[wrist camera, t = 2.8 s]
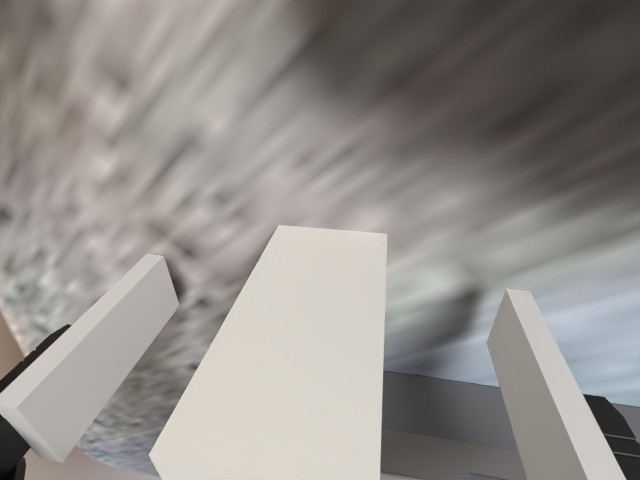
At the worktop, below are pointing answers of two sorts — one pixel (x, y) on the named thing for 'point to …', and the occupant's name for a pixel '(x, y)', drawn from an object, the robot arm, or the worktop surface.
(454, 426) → the power strip
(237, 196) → the worktop surface
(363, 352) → the block
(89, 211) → the worktop surface
